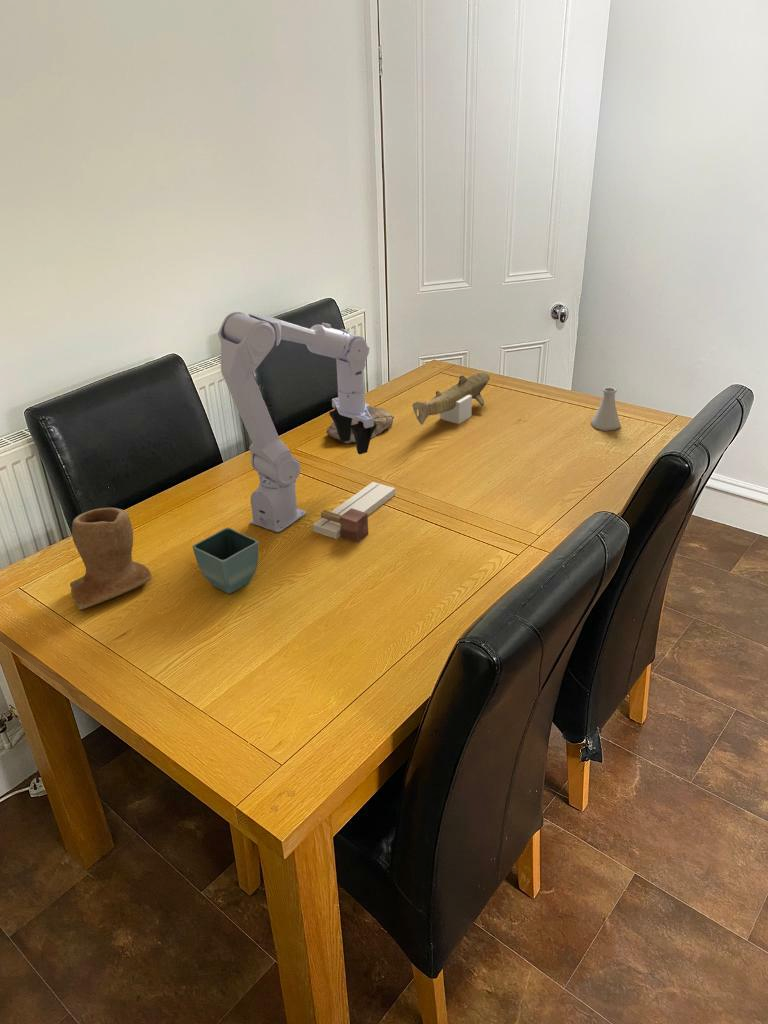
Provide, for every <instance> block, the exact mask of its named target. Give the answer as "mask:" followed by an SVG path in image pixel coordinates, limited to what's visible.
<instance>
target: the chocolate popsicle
mask: <svg viewBox="0 0 768 1024" xmlns="http://www.w3.org/2000/svg"><path fill="white" fill-rule="evenodd" d="M368 517H369V515H368V513H365V512H362V511H359V510H355V509H352V508H351V509H350V510H348V511H347V512H346V513H344V514H343V515H338V514H335V513H332V512H331V511H329V510H322V511H320V519H321V518H324V519H327V520H330V521H333V522H336V523H339V524H340V528H341V536H340V538H341V539H344V540H346V541H350V542H352V543H356V544H358V543H359V542H360V541H362V540H363V539H365V538H366V537H367V536H368V535H369V522H368V521H369V519H368Z"/></svg>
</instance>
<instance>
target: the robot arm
mask: <svg viewBox="0 0 768 1024" xmlns="http://www.w3.org/2000/svg"><path fill="white" fill-rule="evenodd" d="M217 336H218V338H219V341H220V345H221V346H220V351H221V352H220V372H221V375H222V377H223V380H224V383H226V386H227V388H228V391H229V393H230V395H231V397H232V399H233V402H234V405H235V407H236V409H237V411H238V413H239V416H240V418H241V420H242V422H243V425H244V427H245V430H246V431H247V434H248V436H249V439H250V441H251V444H250V446H249V448H248V449H249V452H250V456H251V457H250V463H251V466H252V469H253V470H254V471H255V472H257V476H258V478H259V479H258V480H259V482H258V483H259V484H258V486H257V488H256V489H255V490H254V491H253V492H252V494H250V506H251V507H250V509H251V515H252V519H251V520H250V524H253V525H255V526H259V527H261V528H263V529H267V530H269V531H272V532H275V533H280V532H282V531H283V530H285V529H287V528H288V527H290V525H292V524H294V523H295V522H296V521H298V520H299V519H301V518H302V517H304V516H306V514H307V511H306V510H303V509H300V508H298V504H297V503H298V502H297V491H296V482H297V479H298V478H299V475H300V474H301V463H300V461H299V460H298V458H296V457H295V456H293V455H292V453H291V451H290V449H289V448H288V446H287V445H286V444H285V443H284V442H283V441H282V439H280V437H279V434H278V432H277V430H276V427H275V424H274V422H273V420H272V417H271V415H270V412H269V410H268V407H267V405H266V402H265V400H264V398H263V395H262V393H261V391H260V388H259V385H258V383H257V381H256V379H255V375H254V371H256V369H257V368H258V367H259V366H260V365H261V364H262V362H263V361H264V360H265V358H266V357H267V355H269V353H270V352H271V351H272V349H273V347H274V346H275V347H278V346H279V345H280V343H281V340H282V341H286V342H293V343H298V344H302V345H305V346H306V348H307V350H308V351H309V352H311V353H312V354H316V355H320V356H324V357H329V358H333V359H335V360H336V377H337V379H336V380H337V397H334V398H332V399H331V407H332V408H333V409H334V410H331V411H329V413H328V415H329V417H331V419H332V422H334V423H335V426H336V428H337V432H338V435H339V438H340V440H339V441H340V443H344V442H345V441H349V440H350V437H351V430H352V432H353V434H354V437H355V441H356V442H355V447H356V448H355V449H356V452H357V454H358V455H362V454H366V453H368V450H369V445H370V442H371V439H372V438H371V436H372V434H373V432H374V430H375V429H376V427H377V424H376V423H375V422H374V420H373V417H371V415H370V414H369V412H368V410H367V409H369V408H370V404H368V403H366V395H365V393H366V391H365V387H366V386H365V368H366V360H367V358H368V357H369V353H370V347H369V346H368V344H367V341H366V340H365V338H364V337H362V336H360V335H356V334H355V333H351V332H349V330H347V329H344V328H340V329H337V328H333V327H332V325H331V324H329V323H326V322H322V323H321V324H314V325H312V326H311V327H310V328H308V327H303V326H302V325H301V326H300V325H298V324H294V323H291V322H289V321H285V320H281V319H278V318H275V317H272V316H268V315H260V314H256V313H247V315H246V314H245V313H244V312H241V311H234V312H231V313H229V314H228V315H227V316H226V317H225V318H224V320H223V321H222V323H221V325H220V328H219V330H218V332H217ZM352 419H356V420H357V421H358V424H354V425H351V423H352Z"/></svg>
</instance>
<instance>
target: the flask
mask: <svg viewBox="0 0 768 1024" xmlns="http://www.w3.org/2000/svg"><path fill="white" fill-rule="evenodd" d="M602 391H603V395H602V398H601V402H600V405H599V407H598V408H597V410H596V412H595V414H594V415H593V418H592V419H591V421H590V424H591V426H592V427H593V428H595V429H597V430H599V431H600V430H601V431H603V432H605V431H614V430H618V429H619V428H621V422H620V418H619V415H618V411H617V408H616V407H617V406H616V401H615V399H616V398H615V397H616V393H617V391H618V390H617V389H616V388H615V387H611V386H608V387H607V386H606V387H604V388H602Z"/></svg>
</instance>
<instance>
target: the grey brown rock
mask: <svg viewBox="0 0 768 1024" xmlns="http://www.w3.org/2000/svg"><path fill="white" fill-rule="evenodd" d="M367 410H368V412H369V414H370V415H371V417H373V420H374V422H375V423H376V424H377V427H376V429H375V430H374V432H373V434H372V436H371V439H373V438H376V436H377V435H380V434H382V433H383V431H384V430H387V429H388V428H389V427H390V426H391V425H393V422H394V420H393V419H394V418H395V416H394V415H393V414H391V413H389V411H387V410H386V409H384V408H382V407H375V406H372V405H371V406H370V408H369V409H367ZM354 424H358V421H357V420H356V419H352V423H351V425H354ZM325 432H326V434H327V435H328V436H330V437H331V438H333V439H336V440H339V441H340V438H339V435H338V432H337V428H336V426H335V423H334V421H332V423H331V424H330V426H328V428H327V429H326V431H325ZM343 443H344V444H346V445H347V444H351V443H356V441H355V437H354V434H353V432H352V430H351V437H350V440H349V441H345V442H343Z"/></svg>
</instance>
